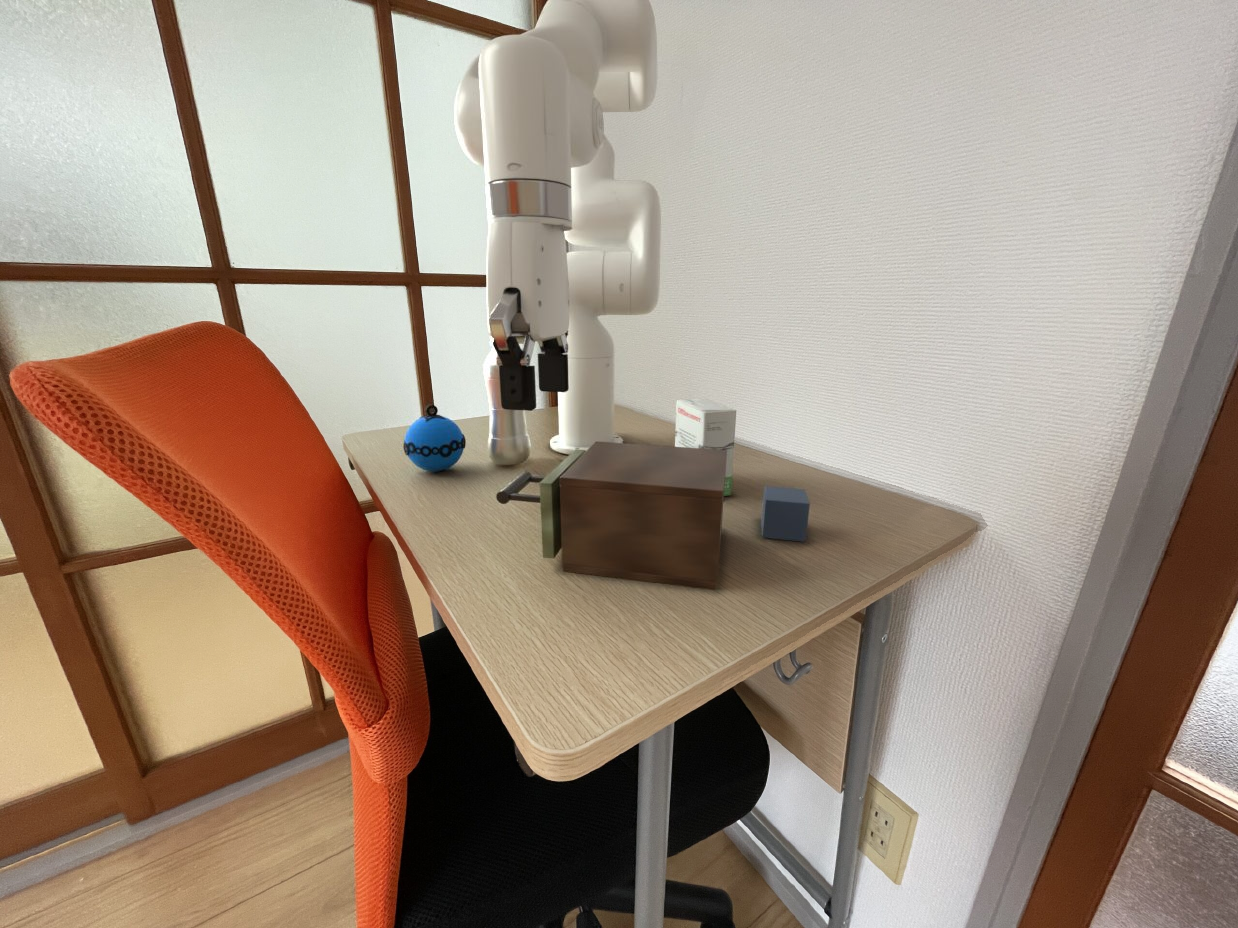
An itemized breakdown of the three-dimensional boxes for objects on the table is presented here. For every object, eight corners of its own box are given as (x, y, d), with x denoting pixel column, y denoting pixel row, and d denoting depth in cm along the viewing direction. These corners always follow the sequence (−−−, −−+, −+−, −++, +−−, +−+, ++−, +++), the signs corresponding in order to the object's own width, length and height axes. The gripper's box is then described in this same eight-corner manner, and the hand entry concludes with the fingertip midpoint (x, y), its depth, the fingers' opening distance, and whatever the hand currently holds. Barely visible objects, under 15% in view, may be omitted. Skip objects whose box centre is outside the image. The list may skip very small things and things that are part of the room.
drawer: (488, 551, 53) (482, 477, 50) (531, 508, 63) (528, 445, 61) (680, 573, 49) (684, 494, 46) (691, 523, 59) (695, 457, 57)
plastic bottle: (480, 463, 82) (469, 331, 76) (515, 454, 87) (508, 329, 81) (504, 472, 78) (495, 334, 72) (540, 462, 83) (535, 332, 77)
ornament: (418, 484, 73) (410, 413, 70) (399, 468, 80) (391, 403, 77) (477, 472, 78) (471, 406, 75) (454, 458, 85) (448, 397, 82)
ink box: (732, 496, 70) (739, 408, 66) (699, 500, 68) (704, 411, 64) (702, 475, 77) (707, 396, 74) (671, 479, 76) (674, 398, 72)
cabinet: (562, 571, 51) (559, 477, 48) (596, 519, 62) (595, 441, 59) (715, 590, 48) (723, 490, 45) (721, 531, 59) (727, 450, 56)
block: (761, 521, 62) (764, 485, 61) (801, 525, 61) (805, 488, 60) (762, 537, 58) (766, 499, 57) (805, 542, 57) (810, 503, 56)
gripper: (527, 224, 56) (534, 384, 61) (441, 195, 40) (460, 416, 45) (595, 222, 55) (596, 387, 60) (534, 192, 39) (543, 421, 44)
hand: (537, 399), depth 53 cm, fingers open, 9 cm apart
